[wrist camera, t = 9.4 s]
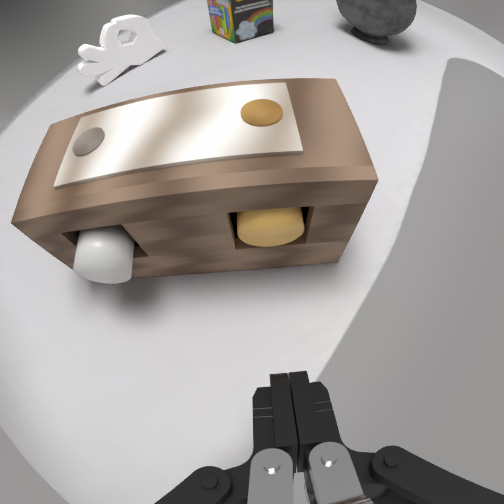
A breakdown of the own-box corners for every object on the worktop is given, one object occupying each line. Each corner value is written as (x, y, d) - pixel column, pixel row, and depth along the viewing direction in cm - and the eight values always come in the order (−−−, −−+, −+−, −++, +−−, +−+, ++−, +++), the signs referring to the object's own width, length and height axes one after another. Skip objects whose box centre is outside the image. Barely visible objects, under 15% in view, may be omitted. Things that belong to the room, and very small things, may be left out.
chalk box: (248, 21, 49) (244, -37, 35) (275, 32, 45) (273, -33, 32) (210, 32, 47) (200, -29, 33) (234, 44, 44) (226, -26, 30)
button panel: (88, 280, 27) (6, 219, 15) (103, 197, 31) (48, 120, 19) (337, 262, 26) (381, 174, 15) (318, 173, 30) (336, 73, 19)
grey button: (92, 284, 21) (61, 263, 17) (97, 250, 22) (69, 225, 18) (140, 282, 21) (114, 259, 17) (143, 245, 22) (120, 217, 18)
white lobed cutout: (166, 47, 43) (141, 4, 33) (103, 98, 43) (68, 60, 33) (160, 44, 44) (135, 3, 34) (98, 94, 44) (65, 57, 34)
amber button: (240, 248, 22) (233, 218, 18) (238, 213, 23) (232, 178, 19) (301, 244, 22) (307, 212, 18) (295, 208, 23) (300, 173, 19)
